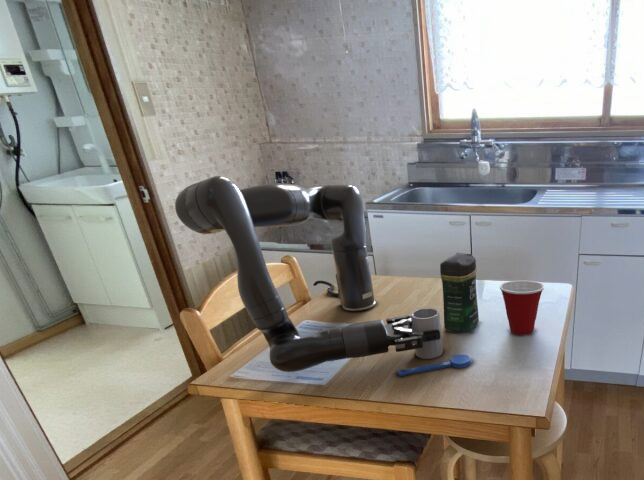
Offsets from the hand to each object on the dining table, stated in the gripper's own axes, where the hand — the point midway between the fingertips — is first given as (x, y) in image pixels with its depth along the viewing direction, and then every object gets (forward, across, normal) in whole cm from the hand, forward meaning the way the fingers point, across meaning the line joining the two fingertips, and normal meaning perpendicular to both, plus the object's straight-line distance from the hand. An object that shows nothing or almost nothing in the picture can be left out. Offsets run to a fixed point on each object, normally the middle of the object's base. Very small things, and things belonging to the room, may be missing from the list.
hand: (435, 327), depth 119 cm
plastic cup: (+23, +3, +6) cm, 24 cm away
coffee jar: (+9, +11, +6) cm, 16 cm away
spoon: (-2, -8, +6) cm, 10 cm away
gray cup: (-2, 0, +6) cm, 6 cm away
